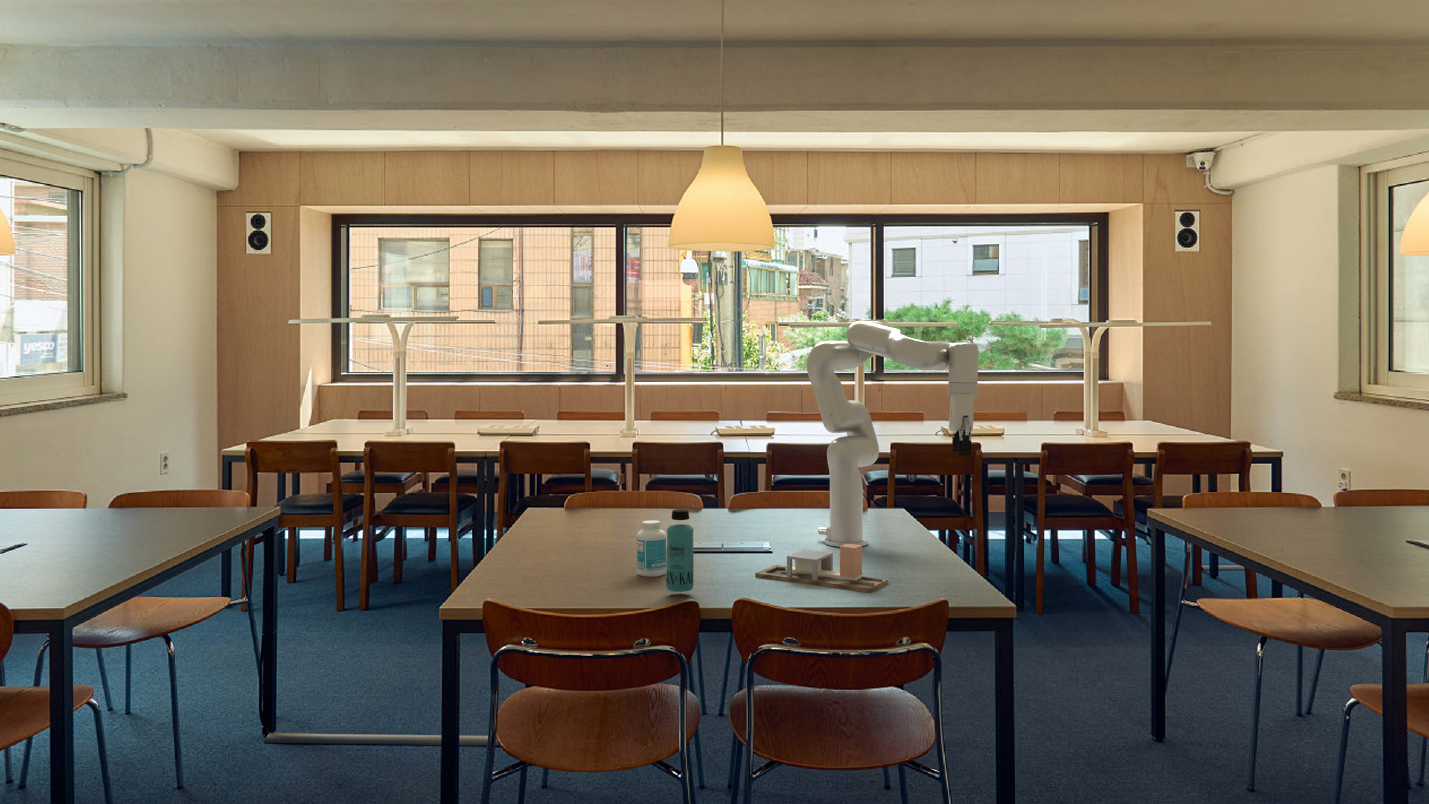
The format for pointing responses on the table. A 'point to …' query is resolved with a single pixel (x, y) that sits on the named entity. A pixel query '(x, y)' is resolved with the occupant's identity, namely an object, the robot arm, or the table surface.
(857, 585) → the rail board
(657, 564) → the pill bottle
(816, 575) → the bridge tunnel
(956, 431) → the robot arm
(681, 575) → the beverage bottle
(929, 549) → the table surface
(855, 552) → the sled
